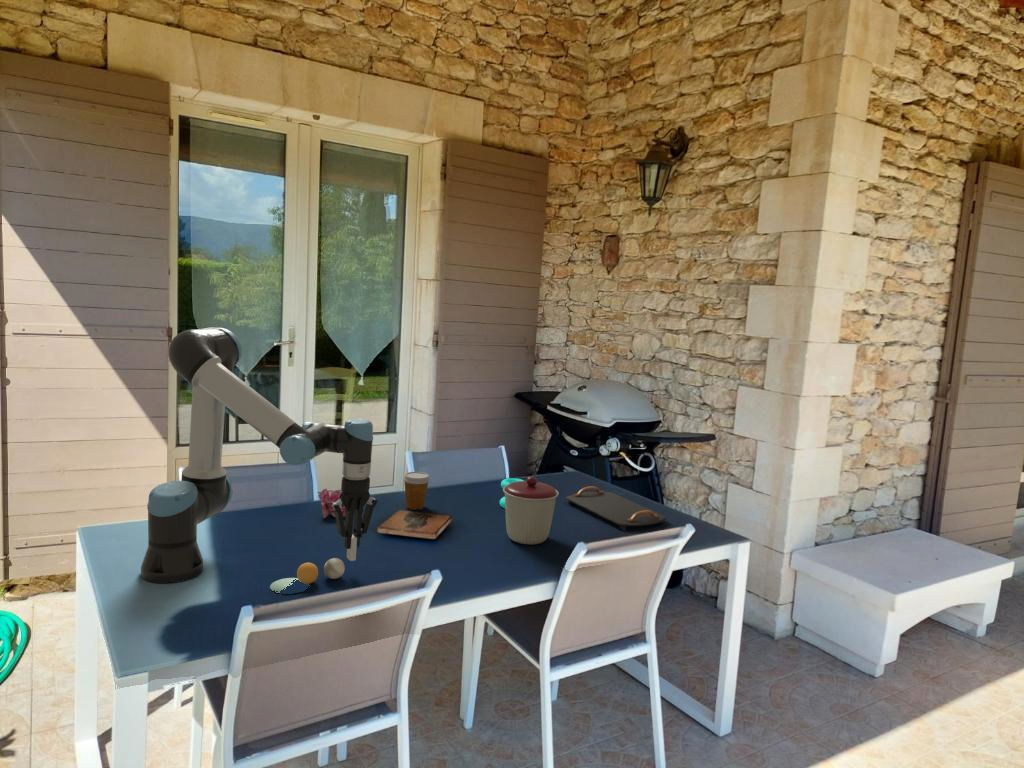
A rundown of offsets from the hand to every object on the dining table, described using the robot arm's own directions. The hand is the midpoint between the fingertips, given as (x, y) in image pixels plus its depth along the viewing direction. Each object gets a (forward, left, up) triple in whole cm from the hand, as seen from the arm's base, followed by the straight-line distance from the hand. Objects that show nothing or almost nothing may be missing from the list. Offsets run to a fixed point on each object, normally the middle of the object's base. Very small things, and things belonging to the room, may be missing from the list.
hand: (351, 558), depth 197 cm
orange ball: (0, -13, -2) cm, 13 cm away
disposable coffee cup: (-43, +44, -5) cm, 62 cm away
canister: (+1, +61, -5) cm, 62 cm away
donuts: (-28, +77, -5) cm, 82 cm away
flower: (-47, +15, -5) cm, 50 cm away
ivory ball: (+1, -5, -2) cm, 6 cm away
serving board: (-6, +108, -5) cm, 109 cm away
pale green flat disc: (0, -17, -4) cm, 18 cm away
